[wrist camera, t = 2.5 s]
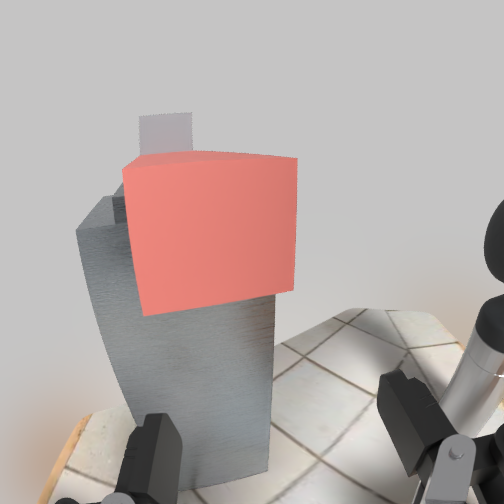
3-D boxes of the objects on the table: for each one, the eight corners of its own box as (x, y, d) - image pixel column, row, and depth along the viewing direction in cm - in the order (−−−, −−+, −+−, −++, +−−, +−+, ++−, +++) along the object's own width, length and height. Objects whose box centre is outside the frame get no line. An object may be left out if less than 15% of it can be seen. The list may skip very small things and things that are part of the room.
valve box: (237, 408, 40) (225, 168, 28) (267, 470, 29) (277, 182, 18) (159, 423, 36) (101, 180, 24) (173, 492, 26) (71, 203, 14)
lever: (183, 184, 29) (180, 121, 27) (293, 290, 8) (295, 42, 6) (144, 188, 28) (140, 124, 26) (143, 316, 7) (122, 36, 5)
